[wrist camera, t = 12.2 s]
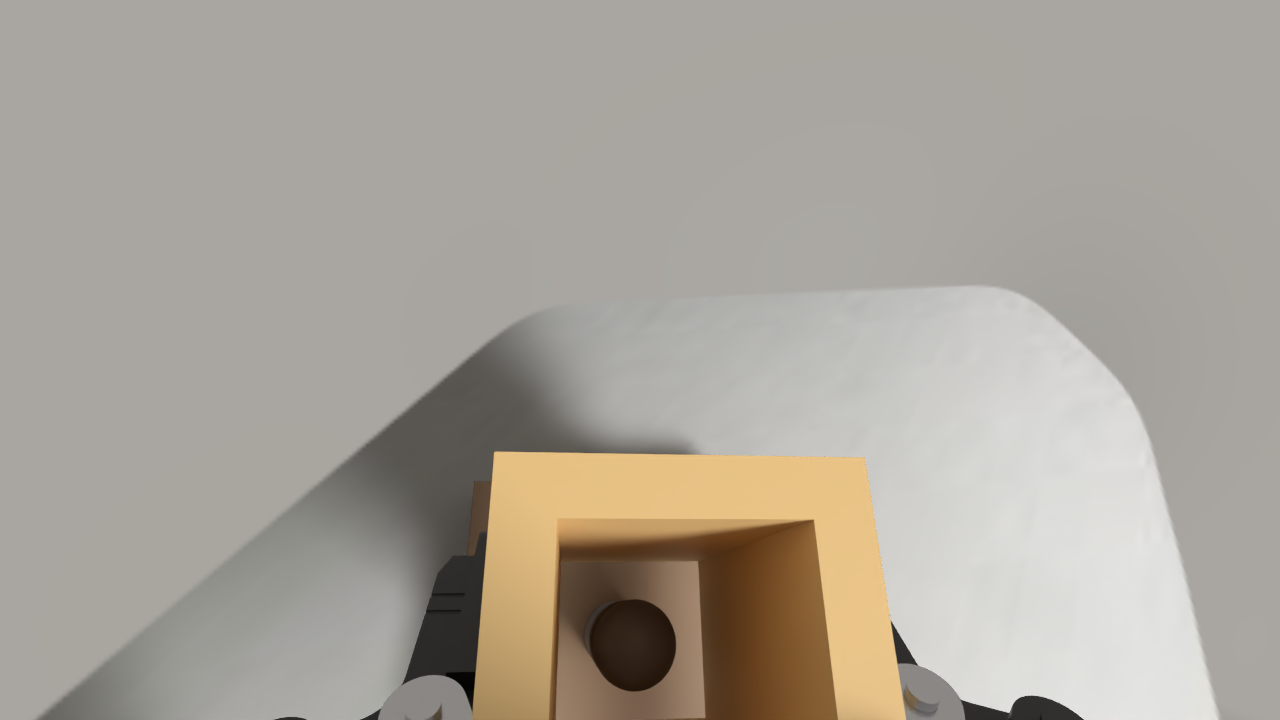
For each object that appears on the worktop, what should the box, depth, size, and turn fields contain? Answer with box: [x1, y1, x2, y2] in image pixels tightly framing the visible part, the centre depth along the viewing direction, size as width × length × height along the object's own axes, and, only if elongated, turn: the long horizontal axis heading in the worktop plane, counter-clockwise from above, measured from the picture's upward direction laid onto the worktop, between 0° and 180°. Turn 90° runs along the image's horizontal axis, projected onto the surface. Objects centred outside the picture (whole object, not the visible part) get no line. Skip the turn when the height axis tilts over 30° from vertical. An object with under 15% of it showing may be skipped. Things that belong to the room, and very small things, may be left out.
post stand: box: [467, 481, 705, 720], centre depth 18 cm, size 10×10×10 cm
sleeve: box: [472, 452, 906, 720], centre depth 13 cm, size 6×6×9 cm
